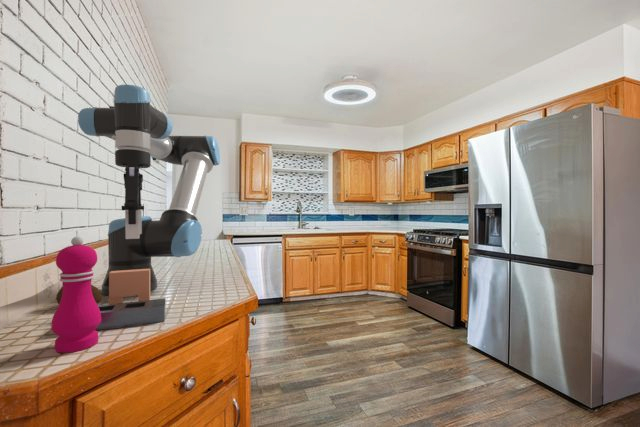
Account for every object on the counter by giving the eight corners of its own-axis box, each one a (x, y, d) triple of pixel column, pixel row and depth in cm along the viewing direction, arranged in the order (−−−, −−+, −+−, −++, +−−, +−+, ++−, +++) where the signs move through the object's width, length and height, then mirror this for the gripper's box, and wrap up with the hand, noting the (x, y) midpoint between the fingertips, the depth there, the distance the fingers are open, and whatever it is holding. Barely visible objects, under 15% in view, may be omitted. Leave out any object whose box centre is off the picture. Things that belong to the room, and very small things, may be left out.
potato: (92, 310, 78) (92, 282, 78) (46, 312, 77) (46, 284, 77) (107, 302, 85) (107, 277, 85) (65, 304, 84) (65, 278, 84)
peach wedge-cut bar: (111, 311, 77) (111, 271, 77) (150, 306, 80) (150, 268, 80) (109, 314, 74) (109, 273, 74) (149, 310, 78) (149, 270, 78)
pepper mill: (74, 356, 52) (74, 238, 52) (40, 352, 54) (40, 237, 54) (110, 339, 59) (110, 235, 60) (79, 336, 61) (80, 235, 61)
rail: (74, 323, 68) (74, 307, 68) (165, 312, 76) (165, 298, 76) (63, 334, 62) (63, 317, 62) (164, 321, 69) (164, 305, 69)
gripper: (120, 157, 86) (121, 233, 86) (108, 139, 64) (109, 241, 64) (151, 158, 89) (151, 232, 90) (149, 142, 67) (151, 240, 68)
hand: (134, 236), depth 77 cm, fingers open, 13 cm apart
